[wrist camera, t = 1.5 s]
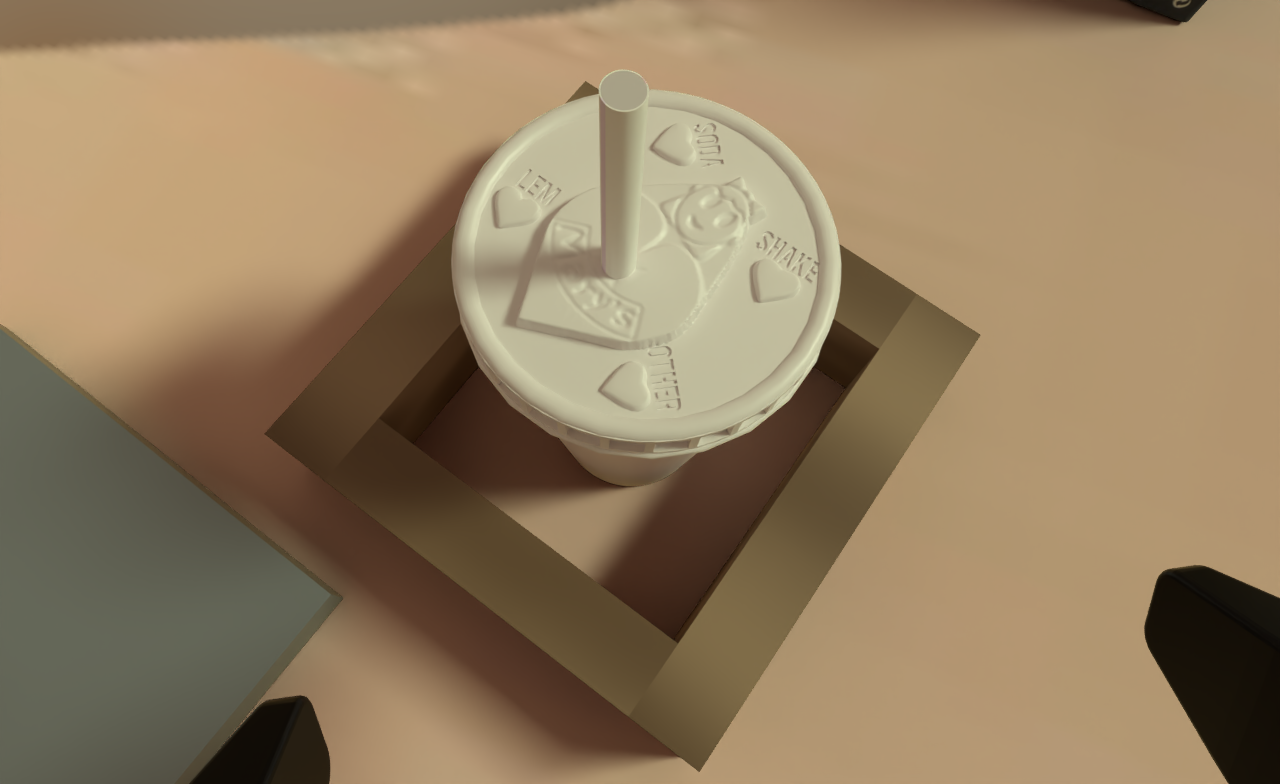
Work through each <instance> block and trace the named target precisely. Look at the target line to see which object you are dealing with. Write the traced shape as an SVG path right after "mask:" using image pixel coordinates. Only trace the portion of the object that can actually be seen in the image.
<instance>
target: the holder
mask: <svg viewBox="0 0 1280 784" xmlns="http://www.w3.org/2000/svg"><path fill="white" fill-rule="evenodd" d="M596 94H599V90H598V89H597V88H595V87H594V86H592V85H591V84H589V83H588V82H586V81H585V82H584V84H583V85H582V86H581V87H580V88H579V89H578V90H577V91H576V92H575V93H574V95H573V96H572V97H571V98H570V99H569V100H568V101H567V102H566V103H568V102H571V101H574V100H577V99H580V98H583V97H587V96H592V95H596ZM566 103H565V104H566ZM455 226H456V224H455V225H454V226H453V227H452V229H451V230H450V231H449V232H448V233H447V234H446V235H445V236H444V237H443V238H442V239H441V241H440V242H439V243H438V244H437V245H436V246H435V247H434V248H433V249H432V250H431V252H430V253H429V254H428V255H427V256H426V257H425V258H424V259H423V260H422V261H421V263H420V264H419V265H418V266H417V267H416V268H415V269H414V270H413V271H412V272H411V274H410V275H409V276H408V277H407V278H406V279H405V280H404V281H403V282H402V283H401V285H400V286H399V287H398V288H397V289H396V290H395V291H394V292H393V293H392V294H391V295H390V297H389V298H388V299H387V300H386V301H385V302H384V303H383V304H382V305H381V306H380V308H379V309H378V310H377V311H376V312H375V313H374V314H373V315H372V316H371V317H370V319H369V320H368V321H367V322H366V323H365V324H364V325H363V326H362V327H361V328H360V330H359V331H358V332H357V333H356V334H355V335H354V336H353V337H352V338H351V339H350V341H349V342H348V343H347V344H346V345H345V346H344V347H343V348H342V349H341V350H340V351H339V353H338V354H337V355H336V356H335V357H334V358H333V359H332V360H331V361H330V362H329V364H328V365H327V366H326V367H325V368H324V369H323V370H322V371H321V372H320V373H319V375H318V376H317V377H316V378H315V379H314V380H313V381H312V382H311V383H310V384H309V386H308V387H307V388H306V389H305V390H304V391H303V392H302V393H301V394H300V395H299V397H298V398H297V399H296V400H295V401H294V402H293V403H292V404H291V405H290V406H289V408H288V409H287V410H286V411H285V412H284V413H283V414H282V415H281V416H280V417H279V418H278V420H277V421H276V422H275V423H274V424H273V425H272V426H271V427H270V428H269V429H268V431H267V432H266V433H265V435H267V436H268V437H269V438H270V439H272V440H273V441H274V442H276V443H277V444H278V445H279V446H281V447H282V448H283V449H285V450H286V451H287V452H288V453H290V454H291V455H292V456H294V457H295V458H296V459H297V460H299V461H300V462H301V463H303V464H304V465H305V466H306V467H308V468H309V469H310V470H312V471H313V472H314V473H315V474H317V475H318V476H319V477H321V478H322V479H323V480H324V481H326V482H327V483H328V484H330V485H331V486H332V487H333V488H335V489H336V490H337V491H339V492H340V493H341V494H342V495H344V496H345V497H346V498H348V499H349V500H350V501H351V502H353V503H354V504H355V505H357V506H358V507H359V508H360V509H362V510H363V511H364V512H366V513H367V514H368V515H369V516H371V517H372V518H373V519H375V520H376V521H377V522H378V523H380V524H381V525H382V526H384V527H385V528H386V529H387V530H389V531H390V532H391V533H393V534H394V535H395V536H396V537H398V538H399V539H400V540H402V541H403V542H404V543H405V544H407V545H408V546H409V547H411V548H412V549H413V550H414V551H416V552H417V553H418V554H420V555H421V556H422V557H423V558H425V559H426V560H427V561H429V562H430V563H431V564H432V565H434V566H435V567H436V568H438V569H439V570H440V571H441V572H443V573H444V574H445V575H447V576H448V577H449V578H450V579H452V580H453V581H454V582H456V583H457V584H458V585H459V586H461V587H462V588H463V589H465V590H466V591H467V592H468V593H470V594H471V595H472V596H474V597H475V598H476V599H477V600H479V601H480V602H481V603H483V604H484V605H485V606H486V607H488V608H489V609H490V610H492V611H493V612H494V613H496V614H497V615H498V616H499V617H501V618H502V619H503V620H505V621H506V622H507V623H508V624H510V625H511V626H512V627H514V628H515V629H516V630H517V631H519V632H520V633H521V634H523V635H524V636H525V637H526V638H528V639H529V640H530V641H532V642H533V643H534V644H535V645H537V646H538V647H539V648H541V649H542V650H543V651H544V652H546V653H547V654H548V655H550V656H551V657H552V658H553V659H555V660H556V661H557V662H559V663H560V664H561V665H562V666H564V667H565V668H566V669H568V670H569V671H570V672H571V673H573V674H574V675H575V676H577V677H578V678H579V679H580V680H582V681H583V682H584V683H586V684H587V685H588V686H589V687H591V688H592V689H593V690H595V691H596V692H597V693H598V694H600V695H601V696H602V697H604V698H605V699H606V700H607V701H609V702H610V703H611V704H613V705H614V706H615V707H616V708H618V709H619V710H620V711H622V712H623V713H624V714H625V715H627V716H628V717H629V718H631V719H632V720H633V721H634V722H636V723H637V724H638V725H640V726H641V727H642V728H643V729H645V730H646V731H647V732H649V733H650V734H651V735H652V736H654V737H655V738H656V739H658V740H659V741H660V742H661V743H663V744H664V745H665V746H667V747H668V748H669V749H670V750H672V751H673V752H674V753H676V754H677V755H678V756H679V757H681V758H682V759H683V760H685V761H686V762H687V763H688V764H690V765H691V766H692V767H694V768H695V769H696V770H697V771H699V772H700V770H701V769H702V767H703V766H704V764H705V762H706V761H707V759H708V758H709V756H710V755H711V753H712V752H713V750H714V748H715V747H716V745H717V744H718V742H719V741H720V739H721V738H722V736H723V734H724V733H725V731H726V730H727V728H728V727H729V725H730V724H731V722H732V720H733V719H734V717H735V716H736V714H737V713H738V711H739V710H740V708H741V707H742V705H743V703H744V702H745V700H746V699H747V697H748V696H749V694H750V693H751V691H752V689H753V688H754V686H755V685H756V683H757V682H758V680H759V679H760V677H761V675H762V674H763V672H764V671H765V669H766V668H767V666H768V665H769V663H770V661H771V660H772V658H773V657H774V655H775V654H776V652H777V651H778V649H779V647H780V646H781V644H782V643H783V641H784V640H785V638H786V637H787V635H788V633H789V632H790V630H791V629H792V627H793V626H794V624H795V623H796V621H797V619H798V618H799V616H800V615H801V613H802V612H803V610H804V609H805V607H806V605H807V604H808V602H809V601H810V599H811V598H812V596H813V595H814V593H815V592H816V590H817V588H818V587H819V585H820V584H821V582H822V581H823V579H824V578H825V576H826V574H827V573H828V571H829V570H830V568H831V567H832V565H833V564H834V562H835V560H836V559H837V557H838V556H839V554H840V553H841V551H842V550H843V548H844V546H845V545H846V543H847V542H848V540H849V539H850V537H851V536H852V534H853V532H854V531H855V529H856V528H857V526H858V525H859V523H860V522H861V520H862V518H863V517H864V515H865V514H866V512H867V511H868V509H869V508H870V506H871V504H872V503H873V501H874V500H875V498H876V497H877V495H878V494H879V492H880V490H881V489H882V487H883V486H884V484H885V483H886V481H887V480H888V478H889V477H890V475H891V473H892V472H893V470H894V469H895V467H896V466H897V464H898V463H899V461H900V459H901V458H902V456H903V455H904V453H905V452H906V450H907V449H908V447H909V445H910V444H911V442H912V441H913V439H914V438H915V436H916V435H917V433H918V431H919V430H920V428H921V427H922V425H923V424H924V422H925V421H926V419H927V417H928V416H929V414H930V413H931V411H932V410H933V408H934V407H935V405H936V403H937V402H938V400H939V399H940V397H941V396H942V394H943V393H944V391H945V389H946V388H947V386H948V385H949V383H950V382H951V380H952V379H953V377H954V375H955V374H956V372H957V371H958V369H959V368H960V366H961V365H962V363H963V362H964V360H965V358H966V357H967V355H968V354H969V352H970V351H971V349H972V348H973V346H974V344H975V343H976V341H977V340H978V338H979V337H980V334H978V333H977V332H975V331H974V330H972V329H970V328H969V327H967V326H966V325H964V324H963V323H961V322H960V321H958V320H956V319H955V318H953V317H952V316H950V315H949V314H947V313H946V312H944V311H942V310H941V309H939V308H938V307H936V306H935V305H933V304H932V303H930V302H928V301H927V300H925V299H924V298H922V297H921V296H919V295H918V294H916V293H914V292H913V291H911V290H910V289H908V288H907V287H905V286H904V285H902V284H900V283H899V282H897V281H896V280H894V279H893V278H891V277H890V276H888V275H886V274H885V273H883V272H882V271H880V270H879V269H877V268H876V267H874V266H872V265H871V264H869V263H868V262H866V261H865V260H863V259H862V258H860V257H858V256H857V255H855V254H854V253H852V252H851V251H849V250H848V249H846V248H844V247H843V246H841V245H840V244H839V245H840V254H841V285H840V293H839V299H838V304H837V308H836V312H835V316H834V319H833V321H832V324H831V327H830V330H829V332H828V334H827V336H826V339H825V341H824V343H823V345H822V347H821V350H820V353H819V356H818V359H817V362H816V363H815V365H814V367H816V368H817V369H819V370H820V371H822V372H823V373H825V374H826V375H828V376H829V377H830V378H832V379H833V380H835V381H836V382H838V383H839V384H841V385H842V386H844V387H845V388H846V389H845V390H844V392H843V393H842V394H841V396H840V397H839V399H838V400H837V402H836V403H835V405H834V406H833V408H832V409H831V411H830V412H829V413H828V415H827V416H826V418H825V419H824V421H823V422H822V424H821V425H820V427H819V428H818V429H817V431H816V432H815V434H814V435H813V437H812V438H811V440H810V441H809V443H808V444H807V446H806V447H805V448H804V450H803V451H802V453H801V454H800V456H799V457H798V459H797V460H796V462H795V463H794V464H793V466H792V467H791V469H790V470H789V472H788V473H787V475H786V476H785V478H784V479H783V481H782V482H781V483H780V485H779V486H778V488H777V489H776V491H775V492H774V494H773V495H772V497H771V498H770V500H769V501H768V502H767V504H766V505H765V507H764V508H763V510H762V511H761V513H760V514H759V516H758V517H757V518H756V520H755V521H754V523H753V524H752V526H751V527H750V529H749V530H748V532H747V533H746V535H745V536H744V537H743V539H742V540H741V542H740V543H739V545H738V546H737V548H736V549H735V551H734V552H733V553H732V555H731V556H730V558H729V559H728V561H727V562H726V564H725V565H724V567H723V568H722V570H721V571H720V572H719V574H718V575H717V577H716V578H715V580H714V581H713V583H712V584H711V586H710V587H709V589H708V590H707V591H706V593H705V594H704V596H703V597H702V599H701V600H700V602H699V603H698V605H697V606H696V607H695V609H694V610H693V612H692V613H691V615H690V616H689V618H688V619H687V621H686V622H685V624H684V625H683V626H682V628H681V629H680V631H679V632H678V634H677V635H676V637H675V638H674V640H673V639H671V638H670V637H669V636H667V635H666V634H665V633H663V632H662V631H661V630H659V629H658V628H657V627H655V626H654V625H653V624H651V623H650V622H649V621H647V620H646V619H645V618H643V617H642V616H641V615H639V614H638V613H637V612H635V611H634V610H633V609H631V608H630V607H629V606H627V605H626V604H625V603H623V602H622V601H621V600H619V599H618V598H617V597H615V596H614V595H613V594H611V593H610V592H609V591H607V590H606V589H605V588H603V587H602V586H601V585H600V584H598V583H597V582H596V581H594V580H593V579H592V578H590V577H589V576H588V575H586V574H585V573H584V572H582V571H581V570H580V569H578V568H577V567H576V566H574V565H573V564H572V563H570V562H569V561H568V560H566V559H565V558H564V557H562V556H561V555H560V554H558V553H557V552H556V551H554V550H553V549H552V548H550V547H549V546H548V545H546V544H545V543H544V542H542V541H541V540H540V539H538V538H537V537H536V536H534V535H533V534H532V533H530V532H529V531H528V530H526V529H525V528H524V527H522V526H521V525H520V524H518V523H517V522H516V521H515V520H513V519H512V518H511V517H509V516H508V515H507V514H505V513H504V512H503V511H501V510H500V509H499V508H497V507H496V506H495V505H493V504H492V503H491V502H489V501H488V500H487V499H485V498H484V497H483V496H481V495H480V494H479V493H477V492H476V491H475V490H473V489H472V488H471V487H469V486H468V485H467V484H465V483H464V482H463V481H461V480H460V479H459V478H457V477H456V476H455V475H453V474H452V473H451V472H449V471H448V470H447V469H445V468H444V467H443V466H441V465H440V464H439V463H437V462H436V461H435V460H433V459H432V458H431V457H430V456H428V455H427V454H426V453H424V452H423V451H422V450H420V449H419V448H418V447H416V446H415V445H414V444H413V443H414V442H415V441H416V440H417V438H418V437H419V436H420V435H421V434H422V433H423V431H424V430H425V429H426V428H427V427H428V425H429V424H430V423H431V422H432V421H433V420H434V418H435V417H436V416H437V415H438V414H439V412H440V411H441V410H442V409H443V408H444V407H445V405H446V404H447V403H448V402H449V401H450V399H451V398H452V397H453V396H454V395H455V394H456V392H457V391H458V390H459V389H460V388H461V386H462V385H463V384H464V383H465V382H466V381H467V379H468V378H469V377H470V376H471V375H472V373H473V372H474V371H475V370H476V369H477V368H478V363H477V361H476V358H475V356H474V354H473V351H472V349H471V346H470V344H469V342H468V339H467V337H466V334H465V332H464V329H463V327H462V325H461V321H460V313H459V309H458V305H457V302H456V298H455V293H454V287H453V281H452V265H451V257H452V243H453V237H454V231H455Z"/></svg>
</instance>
